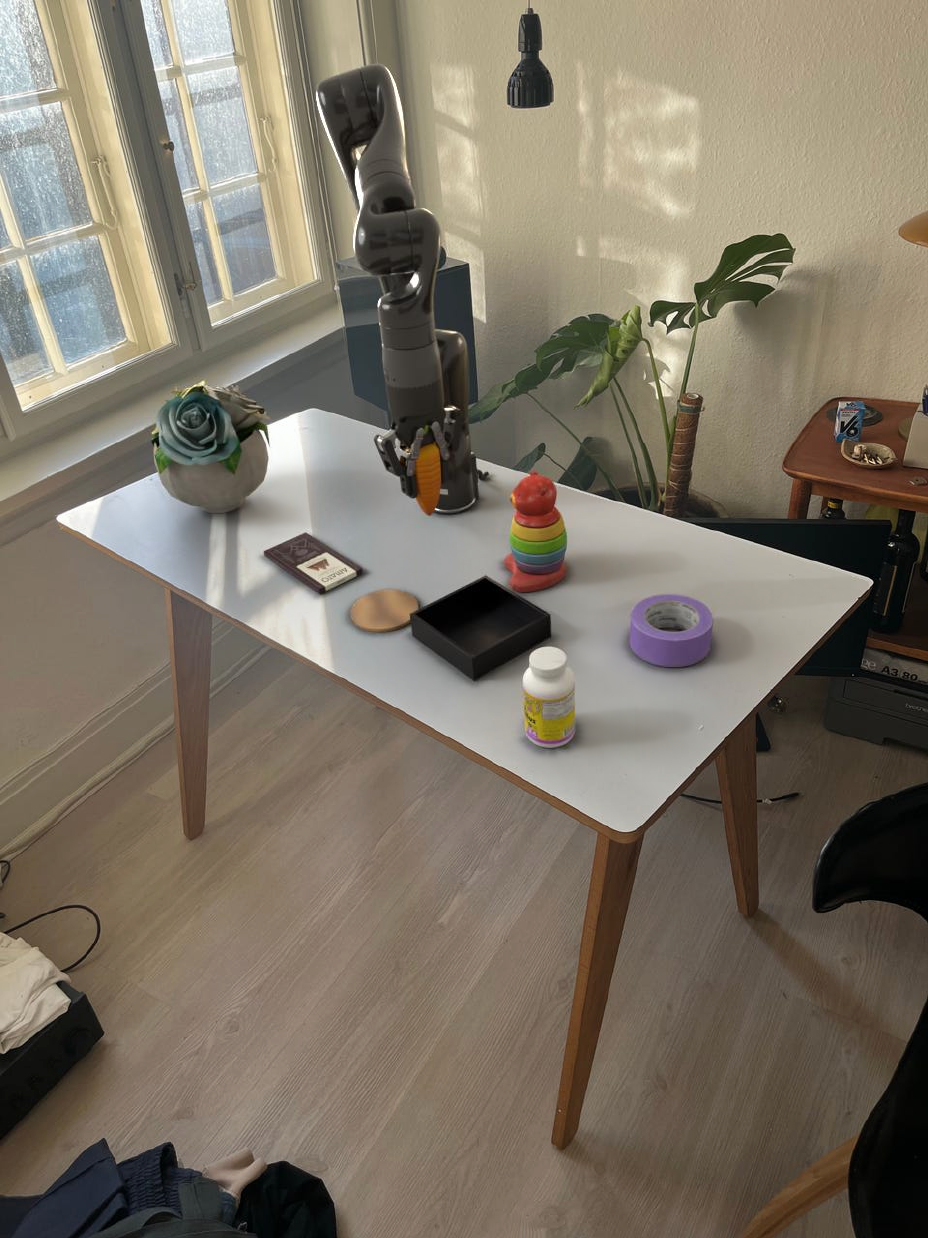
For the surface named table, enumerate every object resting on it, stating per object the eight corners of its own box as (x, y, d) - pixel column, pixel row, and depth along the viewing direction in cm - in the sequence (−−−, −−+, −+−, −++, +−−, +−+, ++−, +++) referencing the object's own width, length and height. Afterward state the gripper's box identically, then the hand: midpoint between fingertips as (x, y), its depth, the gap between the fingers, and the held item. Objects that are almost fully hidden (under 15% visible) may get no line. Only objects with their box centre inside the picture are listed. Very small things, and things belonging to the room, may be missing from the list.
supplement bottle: (522, 719, 125) (518, 644, 117) (570, 713, 125) (569, 638, 117) (529, 753, 119) (525, 677, 112) (579, 747, 119) (579, 671, 112)
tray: (487, 596, 149) (485, 574, 147) (551, 636, 139) (550, 614, 137) (412, 635, 142) (409, 613, 139) (473, 681, 132) (471, 658, 129)
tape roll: (646, 612, 142) (648, 585, 139) (721, 631, 137) (724, 604, 134) (617, 655, 134) (618, 627, 131) (694, 677, 129) (697, 648, 126)
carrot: (422, 528, 130) (410, 430, 121) (406, 513, 133) (394, 417, 125) (452, 517, 131) (443, 420, 123) (436, 503, 135) (426, 408, 126)
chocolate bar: (305, 532, 169) (362, 568, 157) (306, 536, 169) (362, 572, 158) (263, 551, 164) (318, 589, 152) (264, 555, 165) (319, 594, 153)
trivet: (393, 584, 154) (392, 582, 154) (432, 612, 147) (432, 608, 146) (337, 611, 149) (337, 608, 148) (375, 641, 142) (375, 638, 141)
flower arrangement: (311, 488, 185) (289, 372, 171) (223, 547, 168) (190, 423, 154) (223, 466, 197) (195, 355, 182) (133, 519, 180) (94, 401, 166)
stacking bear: (503, 559, 158) (497, 466, 147) (560, 552, 158) (559, 459, 148) (511, 594, 149) (506, 497, 139) (573, 587, 149) (572, 490, 139)
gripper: (385, 398, 114) (402, 517, 124) (473, 364, 121) (481, 479, 131) (352, 383, 119) (370, 499, 129) (437, 351, 126) (448, 463, 136)
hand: (426, 488), depth 130 cm, fingers closed on carrot, 4 cm apart
